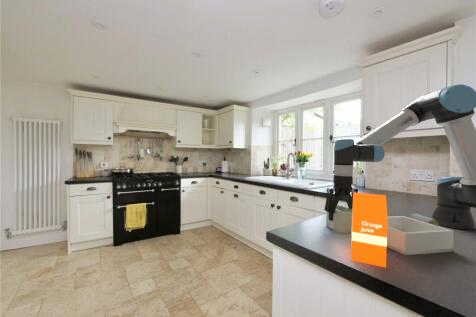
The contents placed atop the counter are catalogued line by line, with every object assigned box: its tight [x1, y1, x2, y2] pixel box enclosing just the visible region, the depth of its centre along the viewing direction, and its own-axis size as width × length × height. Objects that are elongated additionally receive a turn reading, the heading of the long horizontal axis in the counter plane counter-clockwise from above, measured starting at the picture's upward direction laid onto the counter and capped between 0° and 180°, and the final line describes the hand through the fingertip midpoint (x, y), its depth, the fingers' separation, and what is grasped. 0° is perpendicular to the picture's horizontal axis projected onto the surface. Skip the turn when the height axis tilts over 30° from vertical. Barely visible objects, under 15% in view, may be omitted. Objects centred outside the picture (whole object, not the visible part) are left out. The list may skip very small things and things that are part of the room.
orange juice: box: [350, 192, 389, 268], centre depth 66 cm, size 8×9×20 cm
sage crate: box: [325, 205, 353, 235], centre depth 93 cm, size 8×10×9 cm
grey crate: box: [387, 215, 455, 256], centre depth 80 cm, size 20×18×7 cm
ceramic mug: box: [408, 212, 440, 227], centre depth 90 cm, size 11×8×8 cm
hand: (341, 227), depth 93 cm, fingers closed on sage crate, 8 cm apart
